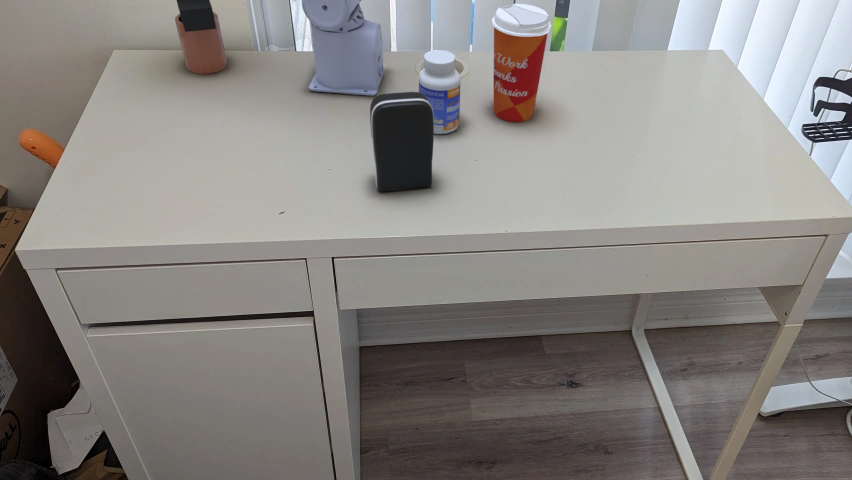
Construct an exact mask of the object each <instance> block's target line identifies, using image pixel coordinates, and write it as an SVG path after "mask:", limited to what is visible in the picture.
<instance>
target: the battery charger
mask: <svg viewBox="0 0 852 480" xmlns="http://www.w3.org/2000/svg"><path fill="white" fill-rule="evenodd" d="M369 117H370V118H369V119H370V120H369V121H370V137H371V142H372V151H373V152H372V153H373V160H374V168H375V169H374V170H375V187H376V189H377V191H379V192H391V191H392V192H393V191H402V190H403V191H404V190H412V189H420V188H426V187H431V186H432V185H433V156H434V139H435V138H434V137H435V136H434V135H435V133H434V115H433V109H432V106H431V104H430V103H429V101H428V99H427V98H426V96H425V95H424V94H422V93H420V92H419V91H401V92H389V93H381V94H378V95H375V96H374V97H373V99H372V100H371V103H370V107H369Z"/></svg>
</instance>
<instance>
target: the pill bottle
mask: <svg viewBox="0 0 852 480" xmlns="http://www.w3.org/2000/svg"><path fill="white" fill-rule="evenodd" d="M456 62H457V61H456V55H455V54H454V53H453V52H451V51H449V50H443V49H433V50H429V51H426V53H424V55H423V69H421V71H420V72H419V74H418V92H420V93H422V94H424V95H425V96H426V98H427V99H428V101H429V103H430V104H431V106H432V109H433V115H434V135H435V134H436V135H444V134H450V133H452V132H454V131H456V130H457V129H458V128H459V125H460V112H461V110H460V109H461V75H460V73H459V72H458V71H457V69H456V65H457V63H456Z"/></svg>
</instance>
